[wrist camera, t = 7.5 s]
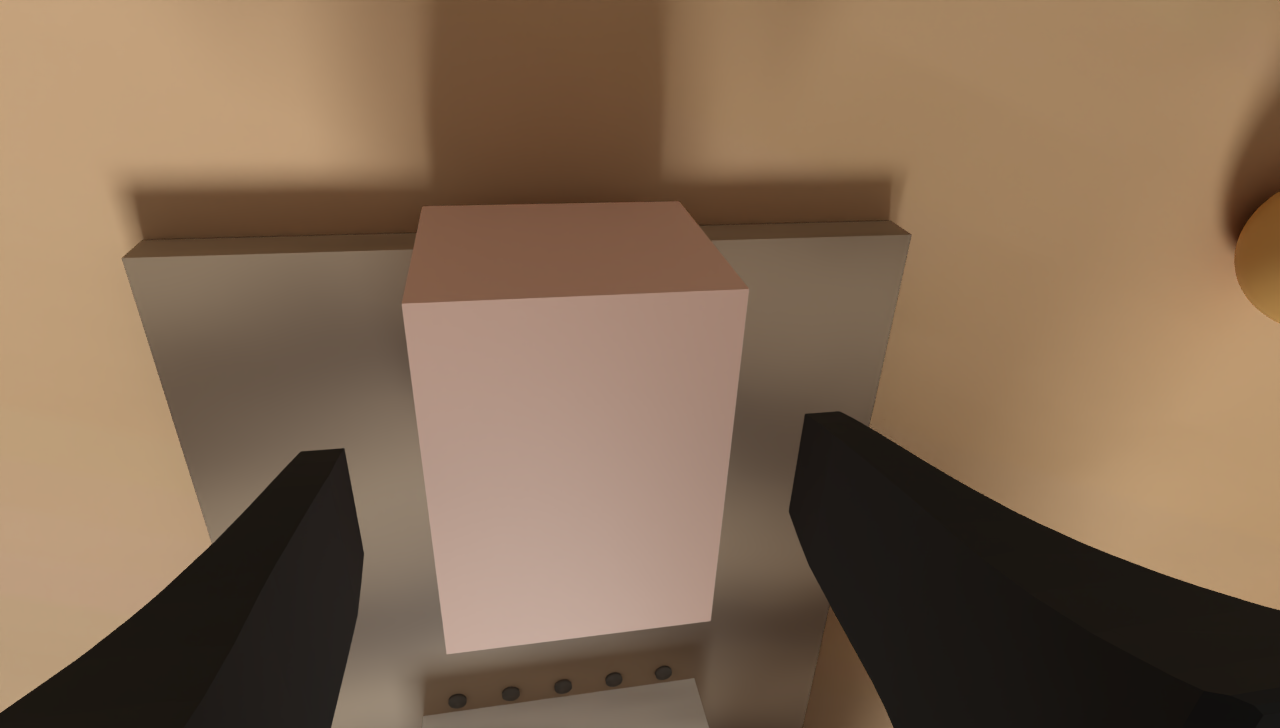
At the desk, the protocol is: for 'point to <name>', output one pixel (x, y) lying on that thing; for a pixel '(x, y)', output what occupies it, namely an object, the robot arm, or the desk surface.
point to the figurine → (1261, 258)
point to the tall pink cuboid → (572, 415)
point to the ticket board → (395, 489)
